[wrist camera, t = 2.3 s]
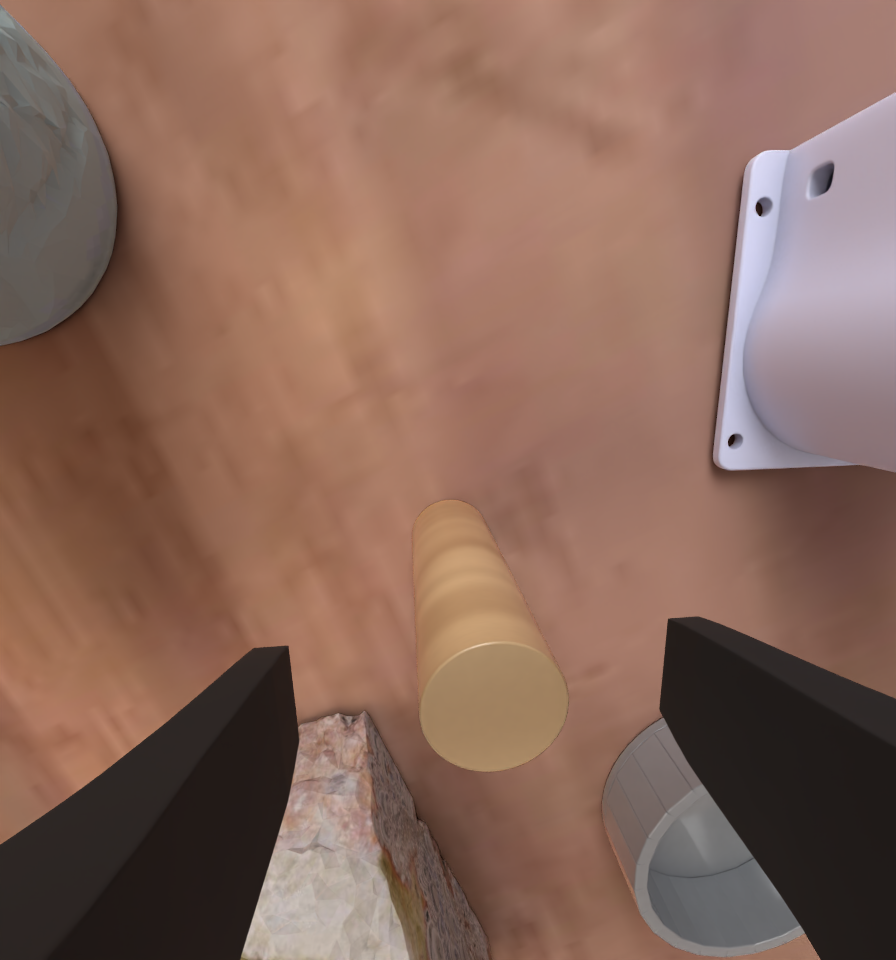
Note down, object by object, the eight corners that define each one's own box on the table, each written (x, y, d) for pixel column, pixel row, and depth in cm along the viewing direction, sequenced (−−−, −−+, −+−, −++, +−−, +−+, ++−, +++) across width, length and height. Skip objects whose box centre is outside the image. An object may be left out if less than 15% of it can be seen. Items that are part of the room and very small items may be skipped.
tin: (607, 709, 19) (645, 773, 16) (823, 691, 19) (896, 748, 16) (595, 886, 21) (626, 971, 18) (790, 864, 22) (850, 942, 19)
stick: (410, 500, 16) (415, 647, 8) (487, 497, 16) (572, 636, 8) (413, 573, 17) (421, 779, 8) (487, 568, 17) (567, 766, 9)
